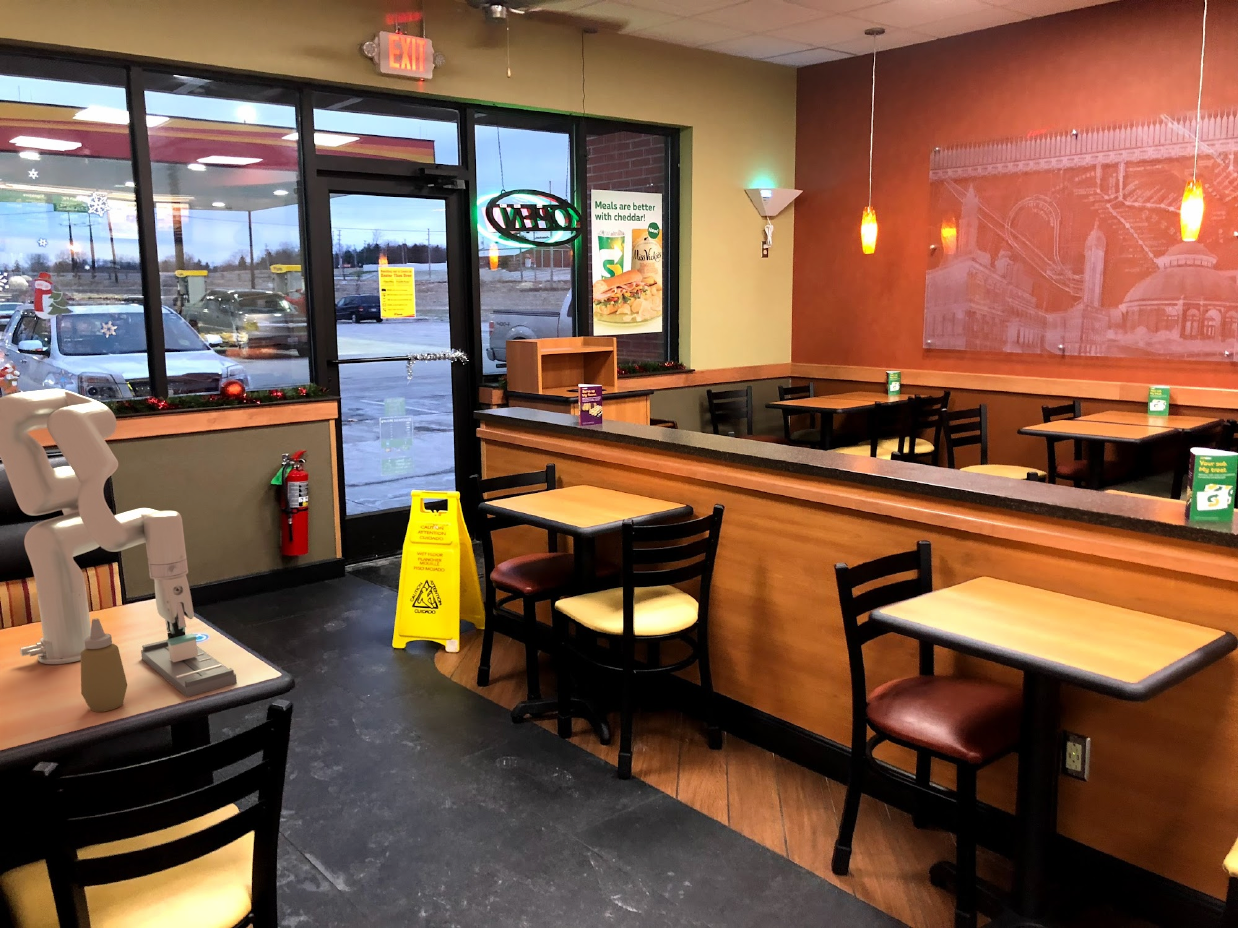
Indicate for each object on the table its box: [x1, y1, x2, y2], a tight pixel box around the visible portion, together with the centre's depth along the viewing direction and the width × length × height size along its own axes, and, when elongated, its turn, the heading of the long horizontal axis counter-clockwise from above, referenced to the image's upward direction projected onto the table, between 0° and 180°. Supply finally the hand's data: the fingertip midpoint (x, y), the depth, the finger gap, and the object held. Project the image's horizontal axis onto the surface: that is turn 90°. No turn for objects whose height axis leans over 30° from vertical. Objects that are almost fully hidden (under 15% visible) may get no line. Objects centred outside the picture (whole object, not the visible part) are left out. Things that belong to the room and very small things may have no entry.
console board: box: [140, 639, 238, 698], centre depth 210 cm, size 10×30×3 cm, turn 42°
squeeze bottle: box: [80, 618, 128, 713], centre depth 191 cm, size 8×8×18 cm
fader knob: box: [166, 632, 198, 662], centre depth 211 cm, size 5×3×4 cm, turn 132°
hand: (178, 649), depth 214 cm, fingers closed
